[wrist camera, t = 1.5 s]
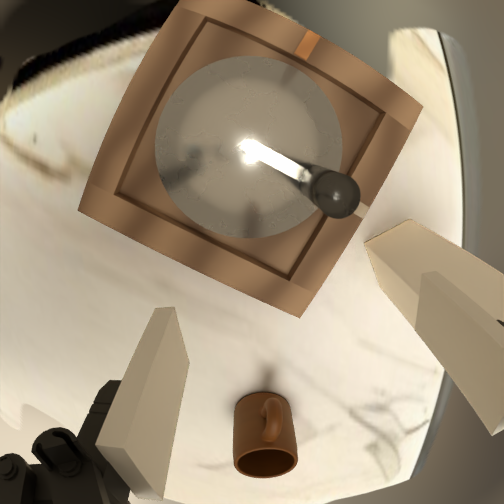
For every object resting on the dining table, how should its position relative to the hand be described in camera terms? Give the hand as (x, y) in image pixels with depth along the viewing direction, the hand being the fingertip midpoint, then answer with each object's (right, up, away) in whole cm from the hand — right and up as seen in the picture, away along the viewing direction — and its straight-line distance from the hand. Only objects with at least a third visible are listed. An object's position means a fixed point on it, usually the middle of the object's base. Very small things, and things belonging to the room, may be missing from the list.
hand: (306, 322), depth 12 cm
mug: (0, -16, +27) cm, 31 cm away
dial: (-2, +12, +15) cm, 19 cm away
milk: (+13, +3, +20) cm, 25 cm away
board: (-2, +12, +16) cm, 21 cm away
